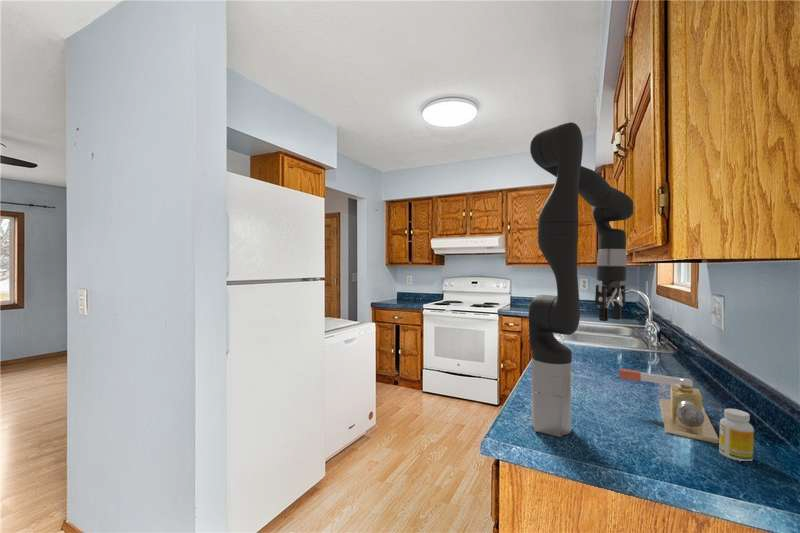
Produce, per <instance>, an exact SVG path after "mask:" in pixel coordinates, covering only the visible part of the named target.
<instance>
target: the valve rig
mask: <svg viewBox="0 0 800 533" xmlns="http://www.w3.org/2000/svg"><path fill="white" fill-rule="evenodd" d="M669 392H670V395H669V396H670V399H664V398H659V406H660V412H661V417H662V421H663V422H662V423H663V427H664V428H663V429H664V433H665V434H671V435H675V436H679V437H684V438H685V437H686V438H689V439H694V440H699V441H704V442H709V443H714V444H717V443H719V437H718V435H717V433H716V430H715V428H714V426H713V424H712V422H711V419H710V418H709V416H708V414H707V412H706V410H705V408H704V406H703V395H702V393H701V391H700V389H699V388H694V387H692V388H685V387H681V386H674V385H670V390H669Z"/></svg>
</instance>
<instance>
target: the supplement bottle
mask: <svg viewBox="0 0 800 533" xmlns="http://www.w3.org/2000/svg"><path fill="white" fill-rule="evenodd" d="M723 410H724V411H723V415H724V417H722V418H721V419H720V420H719V437H718V438H719V444H718V450H719V453H720V454H721V455H722V456H724V457H725V458H728V459H730V460H734V461H737V460H738V462H741V461H751V462H752V461H753V459H754V438H755V435H754V430H755V429H754V426H753V425H752V424H751V423H749V422H750V419H751V418H750V413H749V412H747V411H743V410H740V409H737V408H725V409H723Z"/></svg>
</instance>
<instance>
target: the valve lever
mask: <svg viewBox="0 0 800 533" xmlns="http://www.w3.org/2000/svg"><path fill="white" fill-rule="evenodd" d="M619 379H622V380H629V381H635V382H641V381H642V382H648V383H649V382H650V383H655V384H663V385H667V386H671V385H674V386H681V387H685V388H693V382H694V381H693V379H691V378H687V377H676V376H670V375H663V374H656V373H648V372H641V370H635V369H628V368H619Z"/></svg>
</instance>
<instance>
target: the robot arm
mask: <svg viewBox="0 0 800 533" xmlns="http://www.w3.org/2000/svg"><path fill="white" fill-rule="evenodd" d="M583 144H584V141H583V134H582V130H581V129H580V126H578V124H577V123H575V122H566V123H562V124H559V125H557V126H553V127H552V128H551V127H550V128H547V129H544V130H543V131H539V133H536V134H535V135H534V136H532V139H531V141H530V145H529V150H530V157H531V158H532V160H533V161H534V163H535V164H536V165H537V166H538V167H540V168H541V169H543V170H544V171H545V172H547V173H548V174H551V175H552V176H554V177H555V179H556V180H555V182H554V185H553V188H552V190H551V191H550V194H549V195H548V197H547V198H546V201H545V202H544V204H543V206H542V207H541V210H540V212H539V215H538V220H537V244H538V247H539V249H540V251H541V253H542V256H543V257H544V259H545V260H546V262H547V263H548V265H549V266H550V268H551V271H552V272H553V275H554V278H555V283H556V284H555V285H556V291H557V292H556V294H557V295H548V294H539V295H535V296H534V297H533V298H532V300H531V302H530V304H529V309H528V331H529V332H528V334H529V335H528V336H529V337H528V338H529V347H530V350H531V406H530V407H531V408H530V409H531V418H530V419H531V421H530V422H531V427H533V431H534V432H537V433H541V434H546V435H550V436H554V437H558V438H562V436H565V435H569V434H571V432H572V372H573V369H572V367H573V365H572V363H573V362H572V360H573V359H572V358H573V354H572V350H571V349H570V348H569V347H568V346H566V345H564V344H563V343H561V342H560V341H559V340H558V339H557V338H556V337H555V336H554V335H555V334H558V335H566V336H567V335H568V336H570V335H573V334H575V333H576V331H577V330H578V327H579V325H580V319H581V318H580V317H581V308H580V307H581V306H580V292H579V290H580V289H579V280H578V278H579V276H578V247H579V246H578V243H579V242H578V241H579V196H580V197H581V198H583V200H584V201H586V203H587V204H588V205H590V206H591V207H592V209H591V211H592V217H593V220H594V223H595V228H596V232H597V235H598V242H597V243H598V246H597V247H598V248H597V249H598V250H597V258H596V280H597V281H599V282H601V284H596V285H595V296H594V297H595V299H594V305H595V306H597V307H598V308H599V310H598V312H599V313H598V317H599V318H598V320H599V321H601V322H608V321H609V307H610V304H612V308H611V309H612V314H611V318H612V319H613V320H617V321H618V320H621V319H622V307H623V306H624V305H626V284H621V282H626V281H627V266H628V265H627V264H628V263H627V256H628V255H627V250H626V249H627V234H626V231H625V230H624V229H619V228H613V227H612V226H611V224H610V222H621V221H626V220H628V219H630V218H631V217H632V216H633V215H634V213H633V203H634V201H633V200H632V198H631V197H630V196H629V195H628V194H627V193H625V192H623V191H621V190H619V189H617V188H615V187H613V186H611V185H610V184H609V183H608V181H607V180H606V179H605V178H604V177H603V176H602V175H601V174H600V173H598V172H597V171H595V170H593V169H591V168H588V167H585V166H583V165H582V160H583V148H584V145H583Z"/></svg>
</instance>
